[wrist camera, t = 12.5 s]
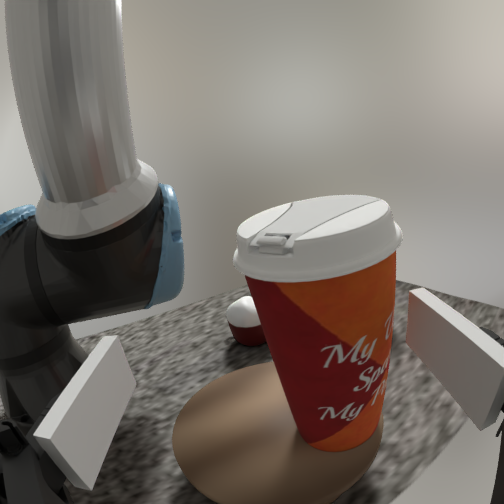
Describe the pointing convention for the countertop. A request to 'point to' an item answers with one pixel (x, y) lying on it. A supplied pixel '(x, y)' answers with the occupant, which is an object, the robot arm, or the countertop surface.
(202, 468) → the pedestal stand
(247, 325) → the cocoa
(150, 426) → the countertop surface
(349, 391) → the paper cup
